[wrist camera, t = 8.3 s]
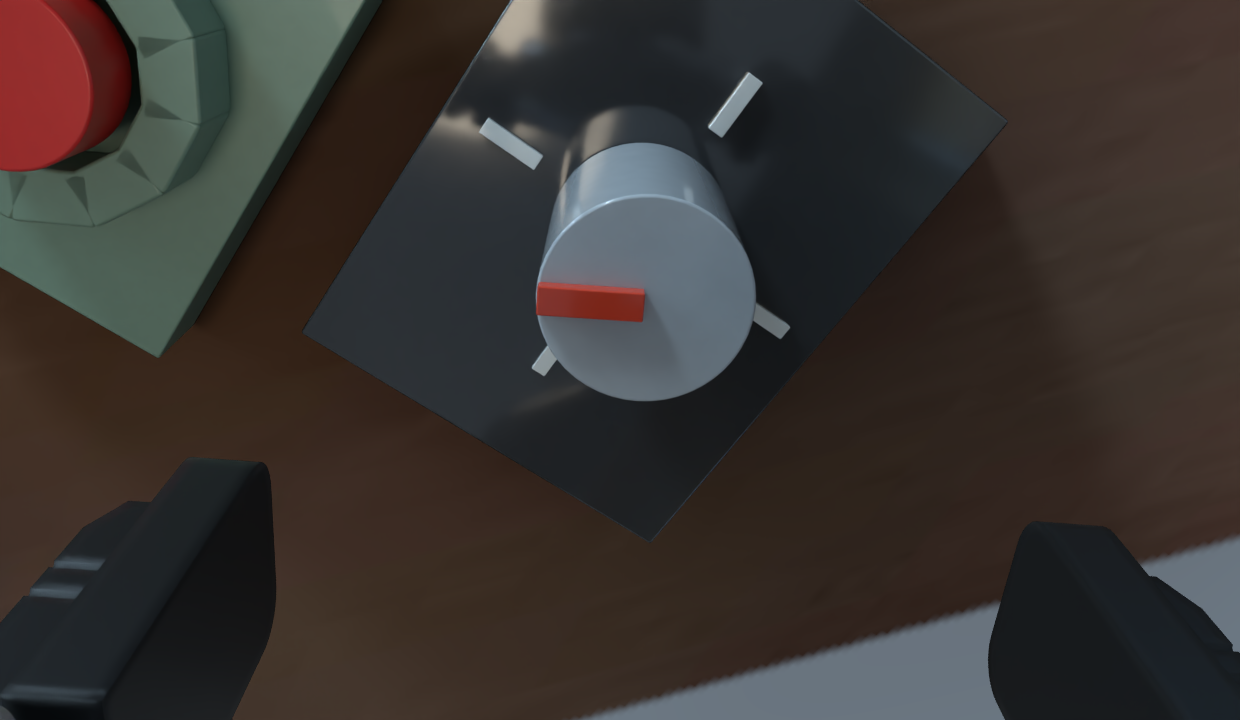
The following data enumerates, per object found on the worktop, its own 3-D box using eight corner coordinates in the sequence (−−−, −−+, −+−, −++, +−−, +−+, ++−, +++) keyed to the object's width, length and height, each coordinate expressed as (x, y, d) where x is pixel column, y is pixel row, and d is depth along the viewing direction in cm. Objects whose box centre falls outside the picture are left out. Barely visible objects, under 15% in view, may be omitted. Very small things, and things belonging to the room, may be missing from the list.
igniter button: (89, 186, 22) (46, 208, 20) (-77, 86, 21) (-135, 100, 19) (163, 42, 20) (124, 53, 19) (-10, -71, 20) (-66, -70, 18)
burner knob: (741, 148, 22) (772, 207, 18) (720, 322, 23) (744, 416, 19) (554, 135, 22) (539, 191, 17) (546, 310, 23) (529, 402, 19)
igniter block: (192, 326, 27) (125, 391, 23) (-148, 125, 25) (-282, 161, 21) (407, -43, 23) (369, -35, 20) (31, -314, 21) (-92, -362, 17)
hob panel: (647, 484, 29) (650, 548, 26) (332, 289, 26) (298, 335, 23) (965, 99, 25) (1013, 123, 22) (625, -173, 22) (627, -186, 19)
